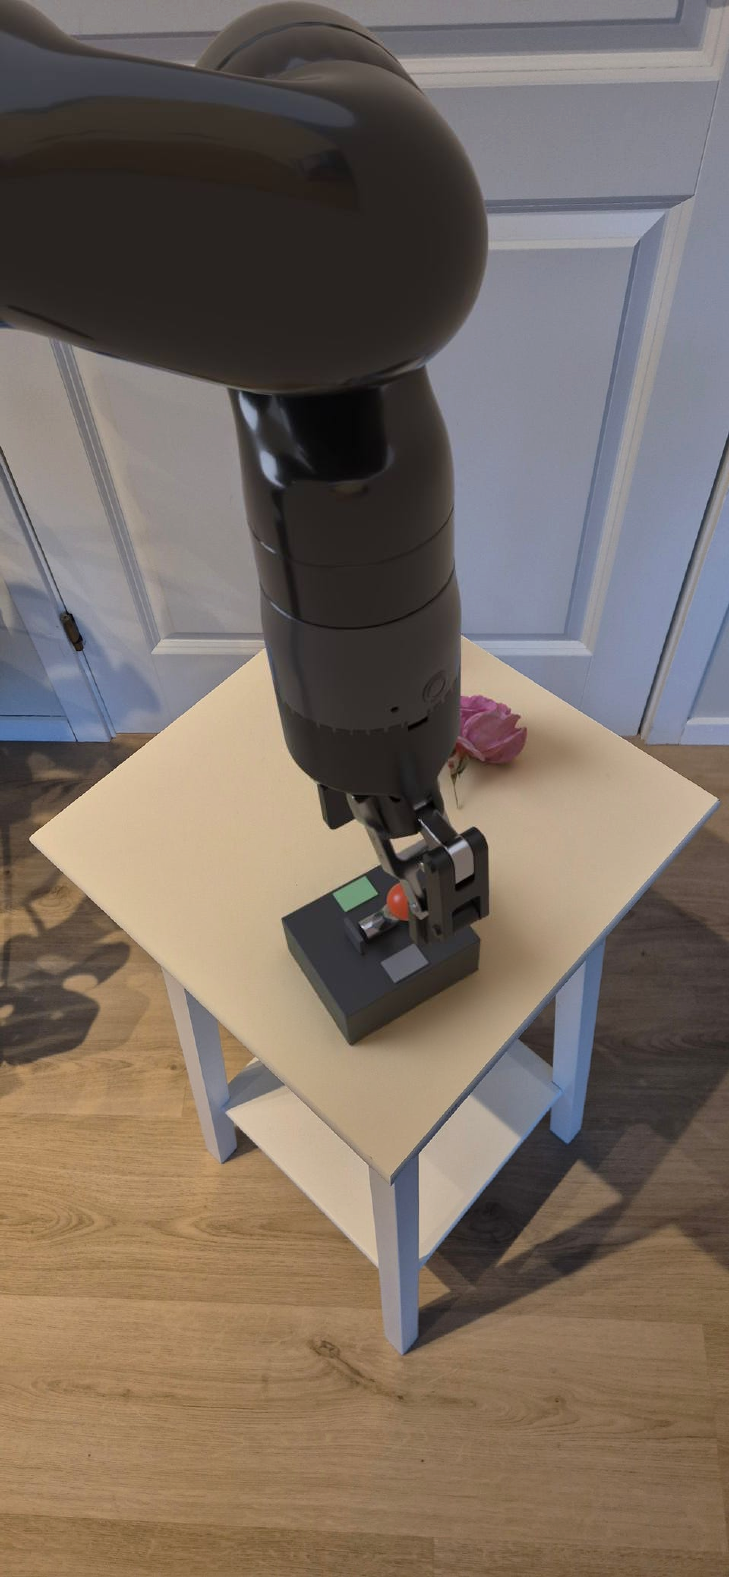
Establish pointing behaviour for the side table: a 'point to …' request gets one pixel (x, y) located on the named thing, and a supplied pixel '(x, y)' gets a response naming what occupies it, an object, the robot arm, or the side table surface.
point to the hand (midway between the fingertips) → (386, 874)
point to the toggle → (386, 914)
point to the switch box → (371, 956)
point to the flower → (485, 734)
